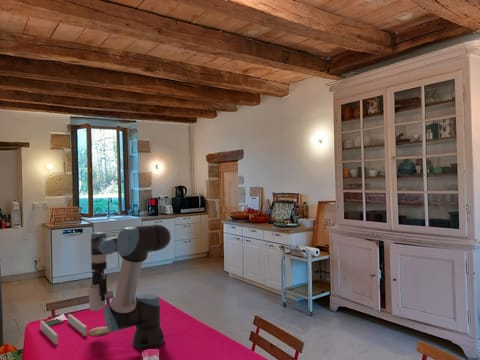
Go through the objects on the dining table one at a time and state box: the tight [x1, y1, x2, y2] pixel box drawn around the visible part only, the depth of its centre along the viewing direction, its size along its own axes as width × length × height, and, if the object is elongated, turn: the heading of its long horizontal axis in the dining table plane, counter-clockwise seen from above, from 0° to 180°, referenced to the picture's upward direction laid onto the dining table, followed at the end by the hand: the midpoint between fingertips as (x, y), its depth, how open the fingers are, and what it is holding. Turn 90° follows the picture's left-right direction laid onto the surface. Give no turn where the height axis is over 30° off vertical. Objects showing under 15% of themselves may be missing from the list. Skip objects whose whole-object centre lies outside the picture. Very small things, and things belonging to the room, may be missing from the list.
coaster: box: [88, 326, 112, 337], centre depth 198 cm, size 11×11×1 cm
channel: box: [39, 313, 88, 345], centre depth 198 cm, size 26×15×4 cm, turn 42°
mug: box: [88, 284, 107, 312], centre depth 198 cm, size 10×7×12 cm, turn 150°
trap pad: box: [44, 318, 64, 327], centre depth 212 cm, size 8×8×1 cm
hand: (99, 305), depth 198 cm, fingers closed on mug, 6 cm apart
